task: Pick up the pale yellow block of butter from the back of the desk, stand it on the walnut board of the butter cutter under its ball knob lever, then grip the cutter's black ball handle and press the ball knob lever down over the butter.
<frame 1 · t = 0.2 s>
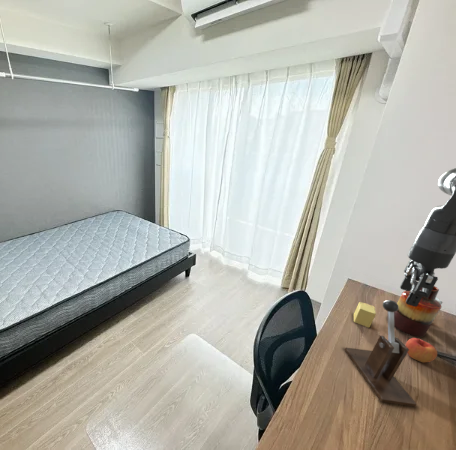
hand: (407, 296, 69), 30 cm above the table, tool pointing down, fingers open, 8 cm apart
ball knob lever: (391, 325, 75), point 18 cm above the table, hinge at 60.0°
vase: (405, 327, 100), on the table
ink box: (415, 316, 106), on the table
apple: (415, 358, 86), on the table
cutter: (375, 375, 79), on the table
butter: (360, 321, 101), on the table
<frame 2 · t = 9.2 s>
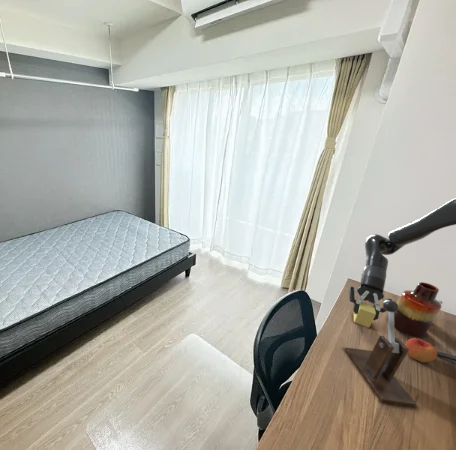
hand: (364, 316, 98), 4 cm above the table, tool tilted 45°, fingers closed on butter, 5 cm apart
butter: (360, 321, 101), on the table, touching gripper
everything else where it was.
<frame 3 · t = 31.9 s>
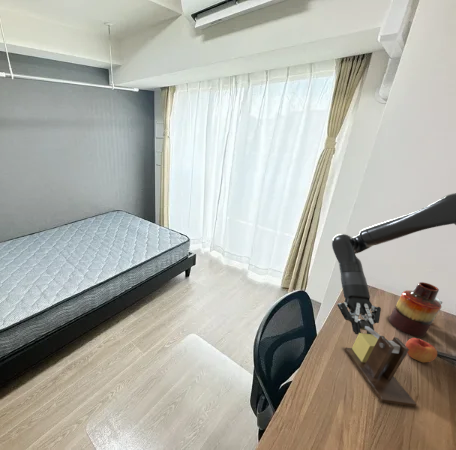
hand: (364, 334, 85), 8 cm above the table, tool tilted 45°, fingers closed on ball knob lever, 3 cm apart
ball knob lever: (375, 334, 80), point 12 cm above the table, hinge at -13.1°, touching gripper
butter: (364, 356, 84), point 2 cm above the table, touching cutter, gripper
everything else where it was.
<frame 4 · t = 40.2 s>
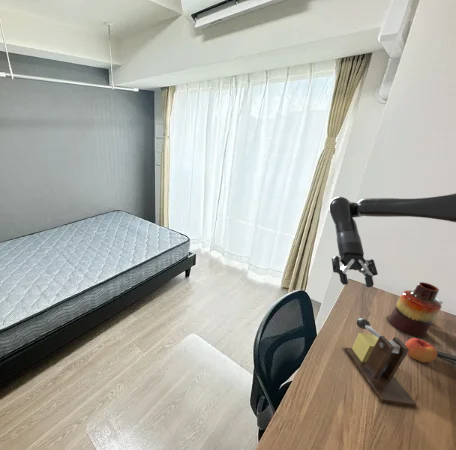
hand: (357, 285, 90), 21 cm above the table, tool tilted 45°, fingers open, 8 cm apart
ball knob lever: (375, 333, 80), point 12 cm above the table, hinge at -11.3°
butter: (364, 356, 84), point 1 cm above the table, touching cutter
everything else where it was.
at the end: ball knob lever at -11° (first picture: +60°); butter 0.2 cm from the target spot on the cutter, point 1.5 cm above the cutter's base; butter tilted 0° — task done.
